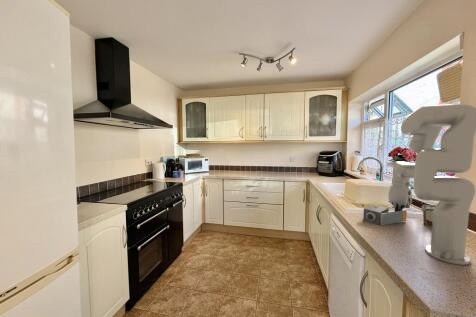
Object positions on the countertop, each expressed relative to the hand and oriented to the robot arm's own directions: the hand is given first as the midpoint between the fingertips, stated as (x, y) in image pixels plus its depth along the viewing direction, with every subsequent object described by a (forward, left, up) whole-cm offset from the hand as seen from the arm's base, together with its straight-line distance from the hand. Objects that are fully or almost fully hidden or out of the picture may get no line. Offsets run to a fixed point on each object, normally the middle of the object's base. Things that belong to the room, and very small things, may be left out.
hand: (397, 215), depth 119 cm
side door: (-8, 0, -3) cm, 9 cm away
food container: (+8, -13, -3) cm, 15 cm away
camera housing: (-10, +7, -3) cm, 13 cm away
